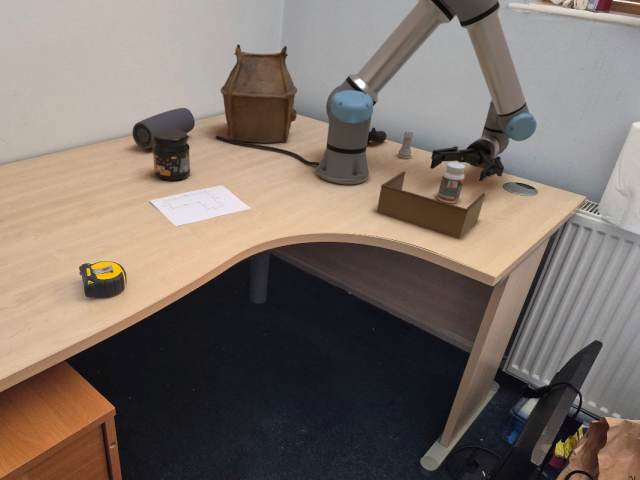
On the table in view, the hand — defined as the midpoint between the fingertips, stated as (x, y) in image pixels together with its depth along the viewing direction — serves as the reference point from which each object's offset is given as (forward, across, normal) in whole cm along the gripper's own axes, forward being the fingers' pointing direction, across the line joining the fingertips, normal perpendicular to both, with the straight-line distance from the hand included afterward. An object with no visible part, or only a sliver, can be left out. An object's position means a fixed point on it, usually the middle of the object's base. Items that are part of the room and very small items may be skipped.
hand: (456, 170), depth 141 cm
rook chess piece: (-23, +24, -8) cm, 35 cm away
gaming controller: (-28, +43, -8) cm, 52 cm away
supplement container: (+42, +68, -8) cm, 80 cm away
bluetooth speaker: (+23, +91, -8) cm, 94 cm away
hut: (-7, +74, -8) cm, 75 cm away
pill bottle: (+1, 0, -8) cm, 8 cm away
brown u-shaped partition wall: (+16, 0, -8) cm, 18 cm away
